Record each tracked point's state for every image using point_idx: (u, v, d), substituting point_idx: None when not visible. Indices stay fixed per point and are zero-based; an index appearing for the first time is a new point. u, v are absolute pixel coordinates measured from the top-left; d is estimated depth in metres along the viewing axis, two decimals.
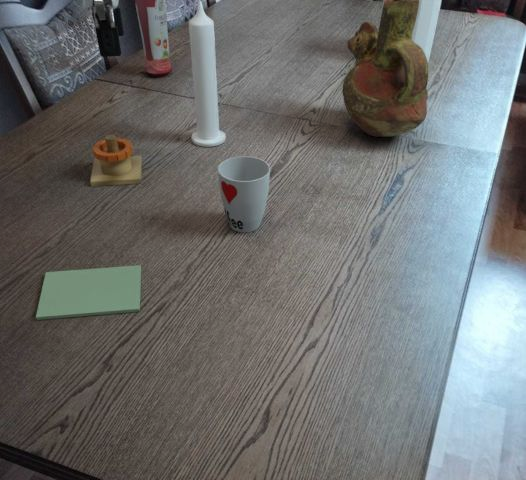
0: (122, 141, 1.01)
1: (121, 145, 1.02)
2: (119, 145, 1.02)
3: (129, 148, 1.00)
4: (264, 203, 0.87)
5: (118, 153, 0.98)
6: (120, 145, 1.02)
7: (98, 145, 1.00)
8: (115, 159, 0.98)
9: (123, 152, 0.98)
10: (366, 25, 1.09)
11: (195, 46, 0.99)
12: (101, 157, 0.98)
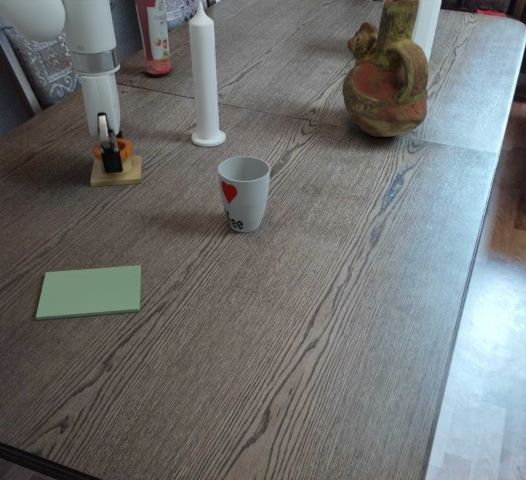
0: (122, 141, 1.01)
1: (121, 145, 1.02)
2: (119, 145, 1.02)
3: (129, 148, 1.00)
4: (264, 203, 0.87)
5: None
6: (120, 145, 1.02)
7: (98, 145, 1.00)
8: None
9: (123, 152, 0.98)
10: (366, 25, 1.09)
11: (195, 46, 0.99)
12: (101, 157, 0.98)
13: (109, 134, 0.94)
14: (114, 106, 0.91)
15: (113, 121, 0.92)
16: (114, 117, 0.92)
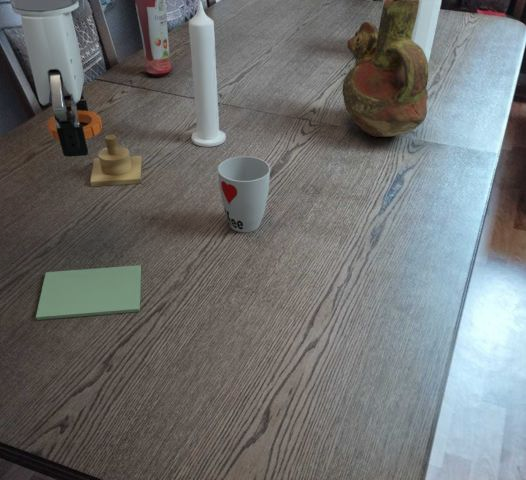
0: (88, 114, 0.76)
1: (86, 119, 0.76)
2: (84, 120, 0.76)
3: (96, 123, 0.74)
4: (264, 203, 0.87)
5: None
6: (85, 120, 0.76)
7: None
8: None
9: (88, 128, 0.73)
10: (366, 25, 1.09)
11: (195, 46, 0.99)
12: None
13: (67, 102, 0.68)
14: (71, 61, 0.65)
15: (71, 82, 0.66)
16: (72, 77, 0.66)
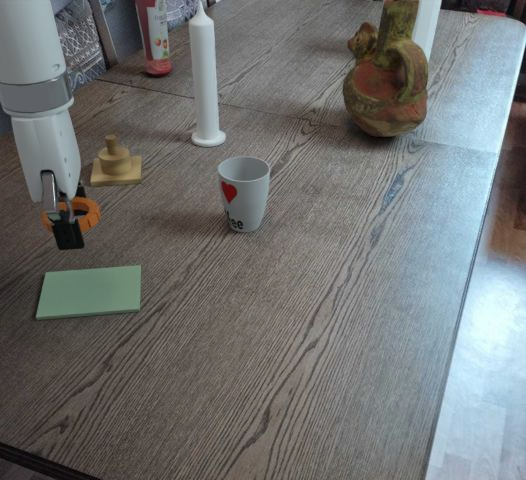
0: (85, 202, 0.71)
1: (84, 207, 0.72)
2: (81, 207, 0.72)
3: (94, 214, 0.69)
4: (264, 203, 0.87)
5: None
6: (82, 207, 0.72)
7: None
8: None
9: (85, 220, 0.68)
10: (366, 25, 1.09)
11: (195, 46, 0.99)
12: None
13: (61, 198, 0.64)
14: (66, 160, 0.61)
15: (65, 181, 0.62)
16: (66, 176, 0.61)
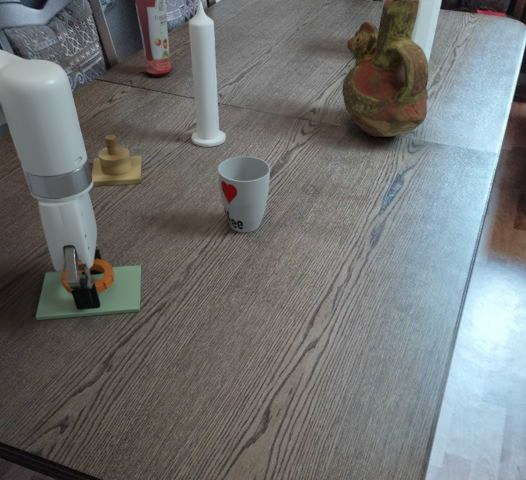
0: (101, 264, 0.78)
1: (99, 269, 0.79)
2: (97, 268, 0.79)
3: (109, 276, 0.76)
4: (264, 203, 0.87)
5: None
6: (98, 268, 0.79)
7: None
8: None
9: (101, 283, 0.75)
10: (366, 25, 1.09)
11: (195, 46, 0.99)
12: None
13: (80, 267, 0.71)
14: (86, 236, 0.68)
15: (84, 254, 0.69)
16: (86, 249, 0.69)
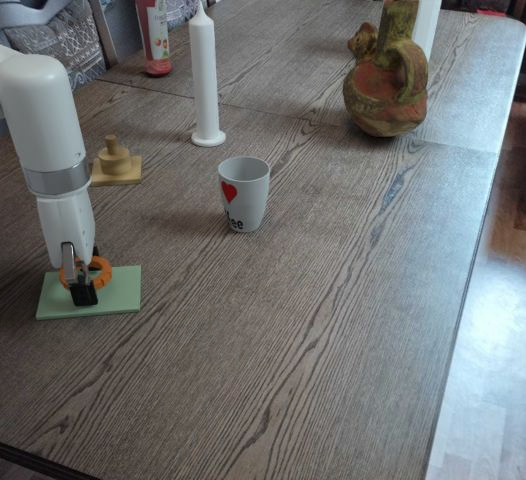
0: (99, 261, 0.78)
1: (97, 265, 0.78)
2: (94, 265, 0.79)
3: (107, 273, 0.76)
4: (264, 203, 0.87)
5: None
6: (96, 265, 0.79)
7: None
8: None
9: (99, 280, 0.75)
10: (366, 25, 1.09)
11: (195, 46, 0.99)
12: None
13: (78, 263, 0.71)
14: (84, 232, 0.68)
15: (82, 251, 0.69)
16: (84, 246, 0.68)
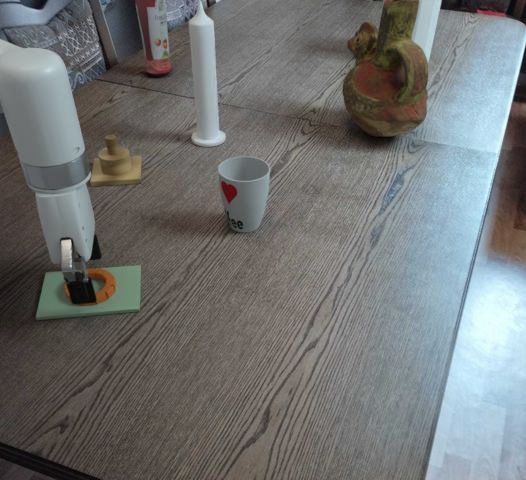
0: (103, 274, 0.80)
1: (101, 278, 0.80)
2: (99, 278, 0.80)
3: (111, 286, 0.78)
4: (264, 203, 0.87)
5: (96, 295, 0.76)
6: (100, 278, 0.80)
7: None
8: None
9: (103, 293, 0.77)
10: (366, 25, 1.09)
11: (195, 46, 0.99)
12: None
13: (77, 262, 0.70)
14: (83, 228, 0.67)
15: (82, 247, 0.68)
16: (83, 242, 0.68)
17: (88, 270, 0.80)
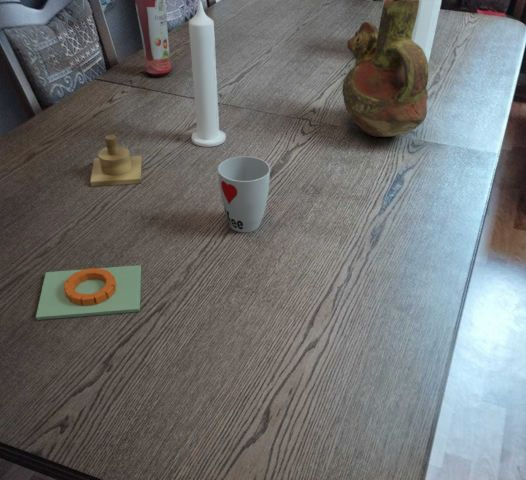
0: (103, 274, 0.80)
1: (101, 278, 0.80)
2: (99, 278, 0.80)
3: (111, 286, 0.78)
4: (264, 203, 0.87)
5: (96, 295, 0.76)
6: (100, 278, 0.80)
7: (71, 281, 0.78)
8: (92, 302, 0.76)
9: (103, 293, 0.77)
10: (366, 25, 1.09)
11: (195, 46, 0.99)
12: (75, 300, 0.76)
13: None
14: None
15: None
16: None
17: (88, 270, 0.80)
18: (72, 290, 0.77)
